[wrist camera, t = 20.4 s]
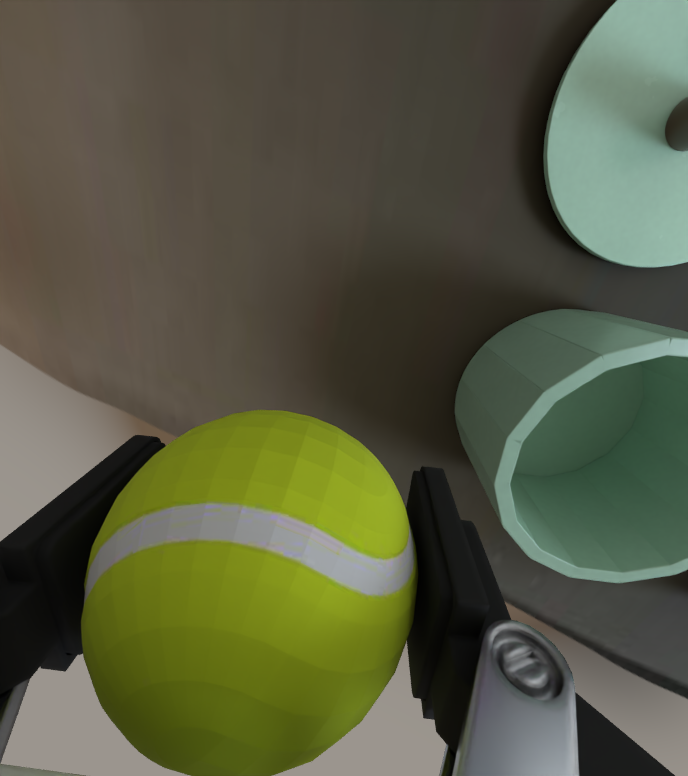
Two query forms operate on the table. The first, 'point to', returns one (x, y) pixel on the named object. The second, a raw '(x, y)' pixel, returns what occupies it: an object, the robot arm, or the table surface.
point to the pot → (584, 441)
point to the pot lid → (624, 137)
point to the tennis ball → (249, 595)
